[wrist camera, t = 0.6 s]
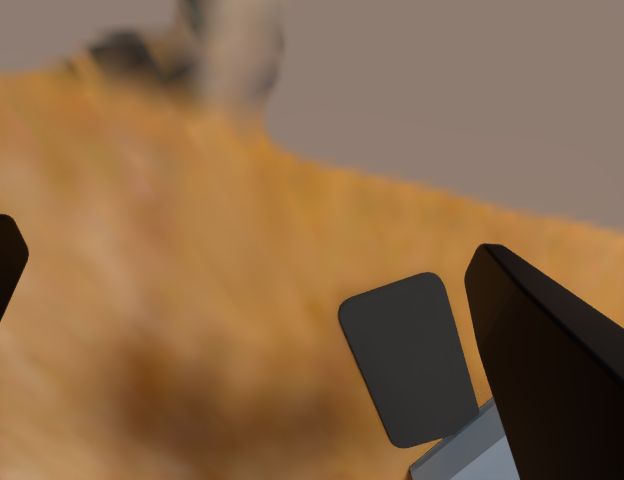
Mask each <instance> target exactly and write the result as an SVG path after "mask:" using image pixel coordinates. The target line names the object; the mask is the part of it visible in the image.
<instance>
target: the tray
mask: <svg viewBox="0 0 624 480" xmlns="http://www.w3.org/2000/svg"><path fill="white" fill-rule="evenodd" d="M479 412H480V413H479V414H478V415H477V416H476V417H475V418H474V419H472V420H471V421H470V422H469V423H468V424H466V425H465V426H464V427H463V428H461V429H460V430H459V431H458V432H457V433H455V434H454V435H451V436H447V437H445V438H444V439H443V440H441V441H440V442H439V443H438V444H437V445H435V446H434V447H433V448H432V449H431V450H429V451H428V452H427V453H426V454H425V455H423V456H422V457H421V458H420V459H419V460H418V461H416V462H415V463H414V464H413V465H412V466H410V467H409V468H410V472H411V475H412V479H413V480H520V478H519V475H518V472H517V469H516V466H515V463H514V460H513V457H512V454H511V450H510V447H509V444H508V441H507V438H506V435H505V432H504V429H503V426H502V423H501V420H500V416H499V413H498V410H497V407H496V404H495V401H494V398H493V397H492V398H491V399H490V400H489V401H488V402H487V403H485V404H484V405H483V406H482V407H481V408H479Z"/></svg>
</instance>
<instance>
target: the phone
mask: <svg viewBox="0 0 624 480" xmlns="http://www.w3.org/2000/svg"><path fill="white" fill-rule="evenodd" d="M339 317H340V321H341V324H342V327H343V329H344V331H345V332H344V333H345V335H346V338H348V341H349V344H350V347H351V349H352V352H353V354H354V355H355V357H356V361H357V363H358V366H359V368H360V370H361V371H362V374H363V376H364V379H365V381H366V383H367V386H368V388H369V390H370V393H371V395H372V397H373V400H374V402H375V405H376V407H377V409H378V412H379V414H380V416H381V419H382V421H383V423H384V426H385V428H386V430H387V433H388V435H389V438H390V440H391V442H392V443H393V445H395V446H396V447H398V448H409V447H413V446H417V445H420V444H423V443H427V442H430V441H434V440H437V439H440V438H444V437H447V436H451V435H454V434H455V433H457V432H458V431H459V430H460V429H461V428H463V427H464V426H465V425H466V424H468V423H469V422H470V421H471V420H472V419H474V418H475V417H476V416H477V415H478V414H479V413H480V412H479V408H478V404H477V401H476V397H475V394H474V390H473V386H472V383H471V379H470V375H469V372H468V368H467V365H466V361H465V357H464V354H463V350H462V347H461V343H460V339H459V336H458V332H457V328H456V324H455V321H454V317H453V314H452V310H451V307H450V303H449V300H448V296H447V292H446V289H445V286H444V284H443V282H442V281H441V279H440V278H439V277H438V276H437V275H436V274H434V273H430V272H425V273H420V274H417V275H414V276H411V277H408V278H405V279H402V280H399V281H396V282H394V283H391V284H388V285H385V286H382V287H379V288H376V289H373V290H370V291H367V292H365V293H362V294H359V295H356V296H353V297H351V298H348V299H347V300H345V301H344V302H343V303H342V304H341V305H340V307H339Z"/></svg>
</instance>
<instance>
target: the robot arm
mask: <svg viewBox="0 0 624 480" xmlns="http://www.w3.org/2000/svg"><path fill="white" fill-rule="evenodd" d="M28 256H29V251H28V247H27V245H26V243H25V241H24V239H23V237H22V235H21V233H20V231H19V229H18V227H17V225H16V223H15V221H14V219H13V218H12V217H10V216H9V215H6V214H0V321H1V319H2V317H3V315H4V313H5V310H6V308H7V306H8V304H9V301H10V299H11V297H12V295H13V292H14V290H15V288H16V286H17V283H18V281H19V279H20V277H21V274H22V272H23V270H24V268H25V265H26V263H27V261H28ZM464 282H465V288H466V293H467V298H468V303H469V308H470V313H471V318H472V323H473V328H474V333H475V338H476V342H477V347H478V351H479V354H480V357H481V361H482V364H483V367H484V370H485V373H486V376H487V379H488V382H489V386H490V389H491V392H492V395H493V398H494V401H495V404H496V407H497V410H498V413H499V416H500V420H501V423H502V426H503V429H504V432H505V435H506V438H507V441H508V444H509V447H510V450H511V454H512V457H513V460H514V463H515V466H516V469H517V472H518V475H519V478H520V480H624V328H622V327H621V326H619V325H618V324H616V323H615V322H614V321H612V320H611V319H609V318H608V317H606V316H605V315H603V314H602V313H600V312H599V311H598V310H596V309H595V308H593V307H592V306H590V305H589V304H587V303H586V302H585V301H583V300H582V299H580V298H579V297H577V296H576V295H574V294H573V293H571V292H570V291H569V290H567V289H566V288H564V287H563V286H561V285H560V284H558V283H557V282H556V281H554V280H553V279H551V278H550V277H548V276H547V275H545V274H544V273H542V272H541V271H540V270H538V269H537V268H535V267H534V266H532V265H531V264H529V263H528V262H527V261H525V260H524V259H522V258H521V257H519V256H518V255H516V254H515V253H513V252H512V251H511V250H509V249H508V248H506V247H505V246H503V245H500V244H486V243H484V244H481V245H479V246H478V248H477V249H476V251H475V253H474V255H473V258H472V260H471V262H470V264H469V266H468V268H467V270H466V273H465V278H464Z"/></svg>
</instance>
